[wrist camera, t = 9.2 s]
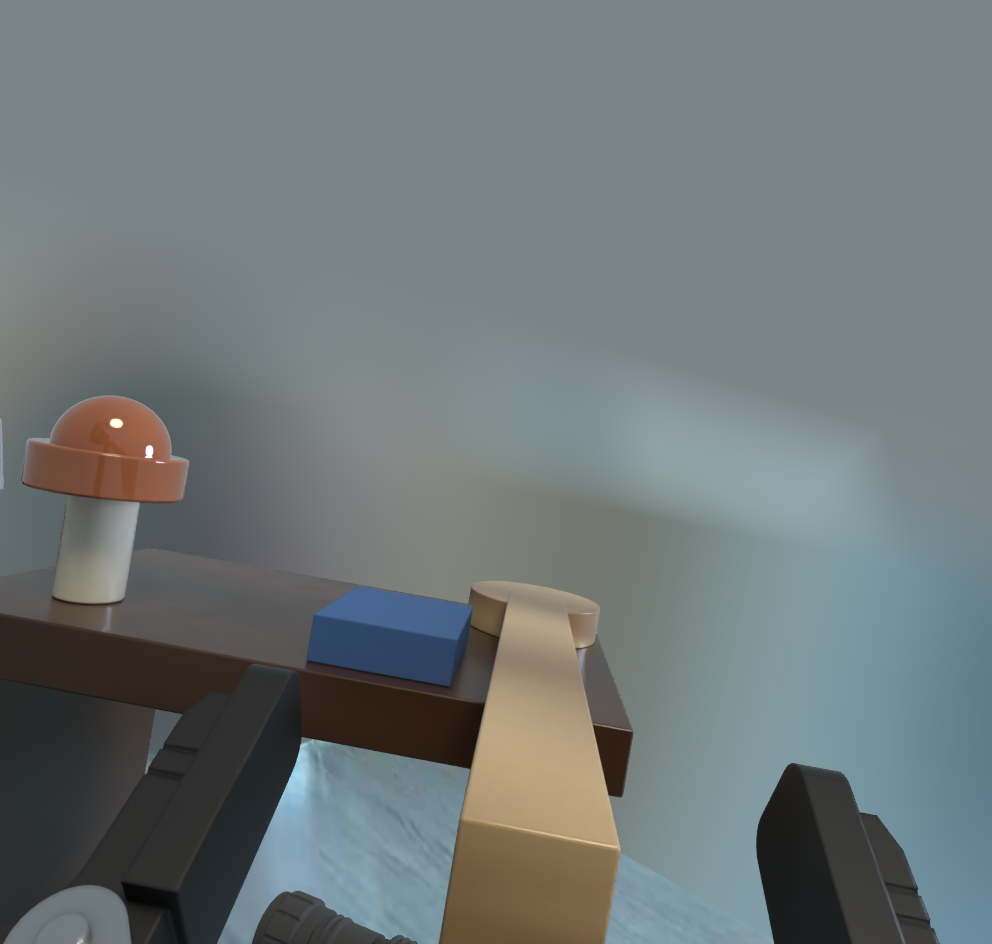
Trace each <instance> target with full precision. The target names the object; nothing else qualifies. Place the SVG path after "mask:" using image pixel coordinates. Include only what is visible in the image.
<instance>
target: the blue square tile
mask: <svg viewBox="0 0 992 944" xmlns="http://www.w3.org/2000/svg"><path fill="white" fill-rule="evenodd" d="M472 611H473V607H472V606H467V605H462V604H456V603H450V602H445V601H439V600H433V599H428V598H422V597H416V596H411V595H405V594H399V593H394V592H388V591H382V590H377V589H371V588H366V587H360V586H358V587H356V588H354V589H353V590H351V591H350V592H348V593H346V594H345V595H343V596H342V597H340V598H339V599H337V600H335V601H334V602H332V603H331V604H329V605H328V606H326V607H324V608H323V609H321V610H320V611H318V612H316V613H315V614H314V617H313V623H312V629H311V635H310V641H309V647H308V653H307V661H309V662H314V663H320V664H325V665H330V666H336V667H341V668H347V669H352V670H358V671H363V672H368V673H374V674H379V675H385V676H390V677H396V678H401V679H407V680H412V681H417V682H423V683H428V684H434V685H439V686H445V687H450V685H451V683H452V680H453V678H454V675H455V673H456V670H457V668H458V665H459V663H460V660H461V658H462V655H463V653H464V650H465V648H466V645H467V642H468V635H469V629H470V623H471V617H472Z"/></svg>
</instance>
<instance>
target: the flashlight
mask: <svg viewBox="0 0 992 944" xmlns="http://www.w3.org/2000/svg"><path fill="white" fill-rule="evenodd" d="M252 944H418V943H417V942H416V941H411V940H410V939H409V938H404V937H403V936H402V935H397V936H395V937H393V938H392V939H391V940H388V939H385V937H384V935H382V934H379V933H377V932H375V931H372V930H370V929H368V928H365V927H363V926H360V925H358V924H356V923H354V922H353V921H352V920H351V919H350V918H347V917H346V918H345V917H344V916H343V915H337V913H336V912H335V911H333V910H331V909H328V908H326V907H325V903H324V902H323V901H322V900H321V899H318V898H316V897H313V896H311V895H309V894H306V893H304V892H301V891H295V892H293V893H290V892H283V893H281V894H279V895H278V896H277V897H276V898H275V899H274V900H273V901H272V902H271V904H270V905H269V906H268V908H267V909H266V911H265V913H264V914H263V916H262V918H261V920H260V922H259V924H258V927H257V929H256V932H255V935H254V938H253V942H252Z"/></svg>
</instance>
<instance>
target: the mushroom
mask: <svg viewBox="0 0 992 944" xmlns="http://www.w3.org/2000/svg"><path fill="white" fill-rule="evenodd" d="M188 466H189V461H188V460H186V459H184V458H180V457H176V456H172V455H171V441H170V437H169V434H168V431H167V429H166V427H165V425H164V424H163V422H162V421H161V419H160V418H159V417H158V416H157V415H156V414H155V413H154V412H153V411H152V410H150V409H149V408H148V407H146V406H145V405H143V404H141V403H139V402H137V401H135V400H132V399H129V398H125V397H121V396H98V397H94V398H89V399H87V400H84V401H81V402H80V403H78V404H76V405H74V406H73V407H71V408H70V409H68V410H67V411H66V412H65V413H64V414H63V415H62V416H61V417H60V419H59V420H58V421H57V423H56V425H55V426H54V428H53V431H52V433H51V437H50V439H47V438H30V439H28V440H27V443H26V449H25V455H24V461H23V467H22V473H21V482H22V483H23V484H24V485H26V486H29V487H32V488H35V489H39V490H44V491H48V492H54V493H59V494H66V495H67V499H66V506H65V512H64V519H63V524H62V531H61V537H60V543H59V549H58V556H57V562H56V568H55V574H54V580H53V587H52V596H53V597H54V598H56V599H59V600H62V601H65V602H70V603H78V604H109V603H114V602H119V601H121V600H123V599H124V597H125V594H126V588H127V581H128V575H129V569H130V563H131V557H132V550H133V544H134V538H135V532H136V526H137V519H138V513H139V507H140V503H174V502H179V501H181V500H182V499H183V497H184V491H185V485H186V479H187V472H188Z"/></svg>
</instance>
